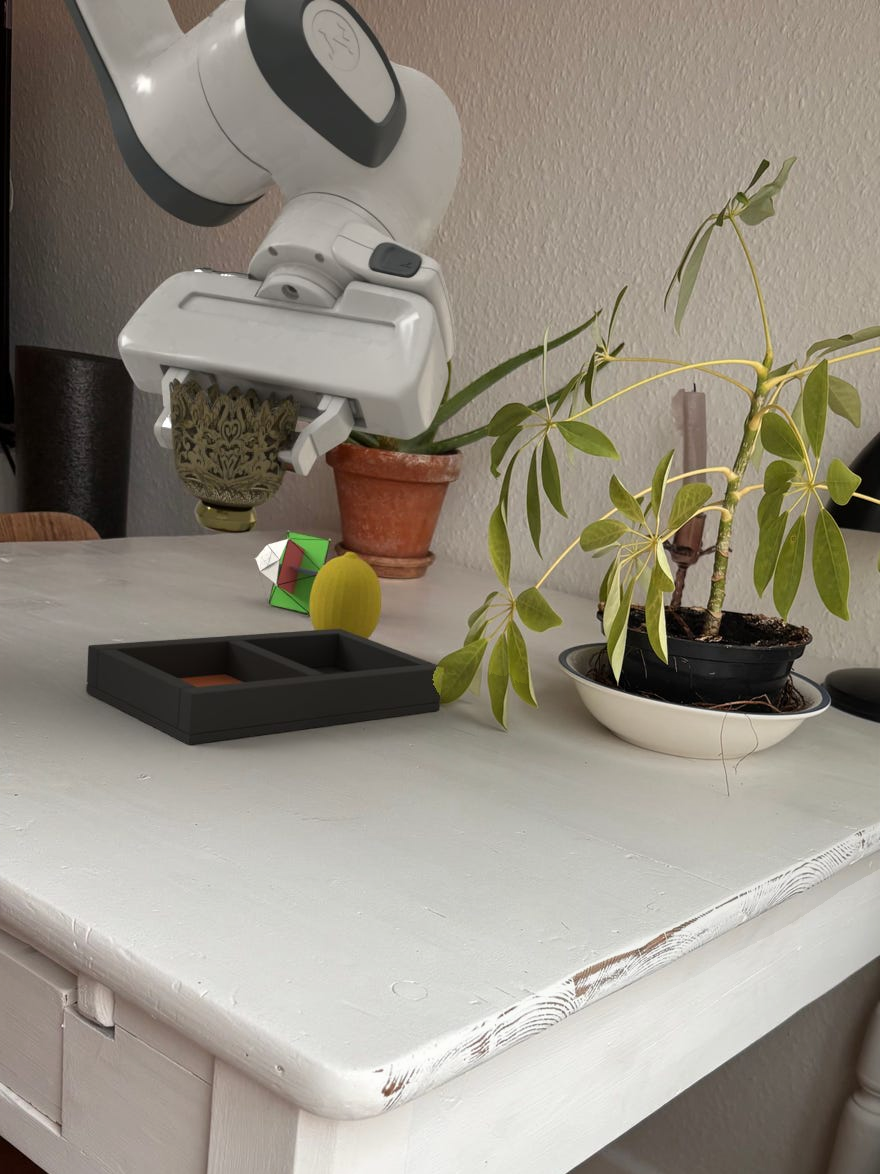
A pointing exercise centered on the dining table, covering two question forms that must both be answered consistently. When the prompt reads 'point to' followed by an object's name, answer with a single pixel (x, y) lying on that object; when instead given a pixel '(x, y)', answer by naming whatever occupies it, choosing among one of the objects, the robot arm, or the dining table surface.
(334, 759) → the dining table surface
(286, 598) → the geometric puzzle
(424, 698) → the tray
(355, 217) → the robot arm
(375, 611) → the lemon
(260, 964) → the dining table surface
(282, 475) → the cup
